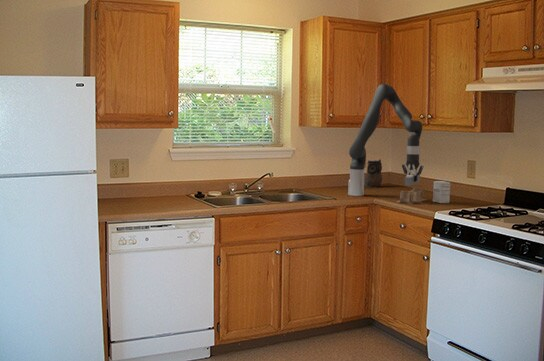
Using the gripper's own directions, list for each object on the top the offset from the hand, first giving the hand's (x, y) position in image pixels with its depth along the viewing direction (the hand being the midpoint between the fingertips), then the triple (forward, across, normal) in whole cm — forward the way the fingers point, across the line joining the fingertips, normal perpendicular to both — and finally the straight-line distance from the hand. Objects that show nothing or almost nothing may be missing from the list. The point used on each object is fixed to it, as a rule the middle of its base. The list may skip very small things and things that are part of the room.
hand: (412, 181), depth 392 cm
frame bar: (+2, 0, 0) cm, 2 cm away
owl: (+13, +55, -53) cm, 77 cm away
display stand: (+12, 0, 0) cm, 12 cm away
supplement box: (+13, -15, -10) cm, 22 cm away
